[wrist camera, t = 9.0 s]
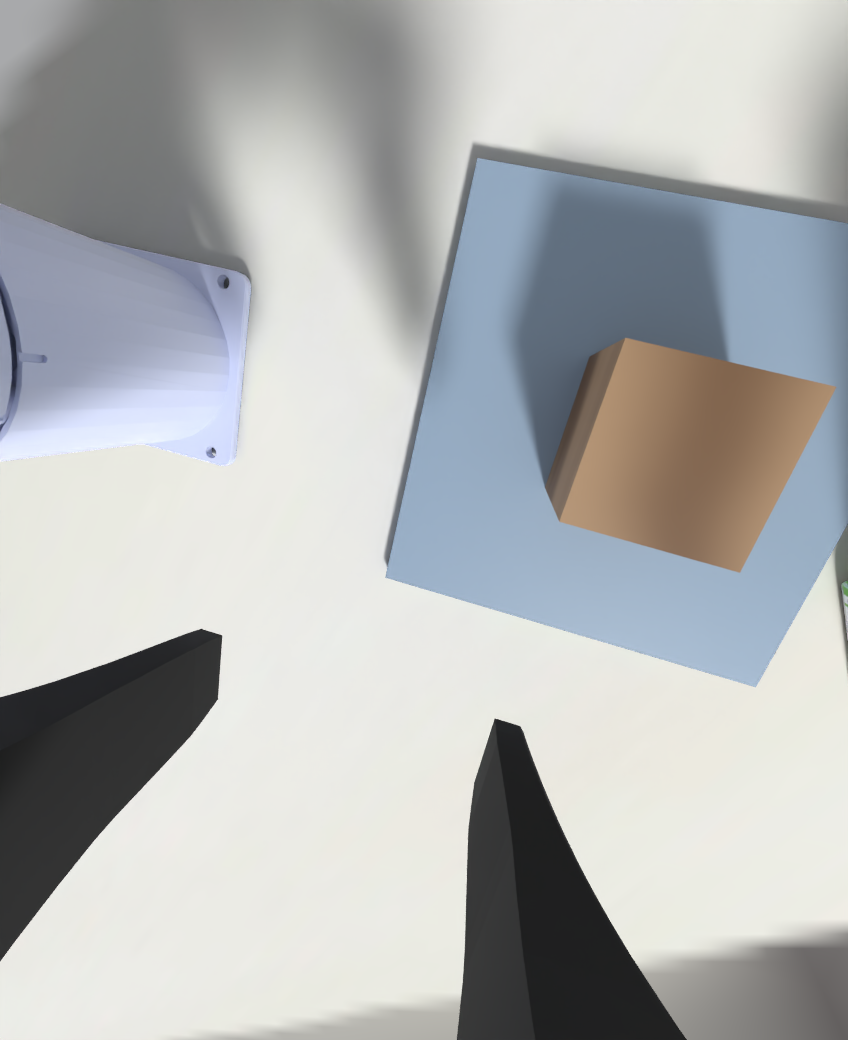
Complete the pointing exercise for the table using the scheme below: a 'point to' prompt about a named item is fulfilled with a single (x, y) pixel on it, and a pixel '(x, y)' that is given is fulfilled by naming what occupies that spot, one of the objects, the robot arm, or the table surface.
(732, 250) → the slate board
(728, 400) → the walnut cube
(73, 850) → the robot arm
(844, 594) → the syrup box
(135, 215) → the table surface
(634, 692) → the table surface
